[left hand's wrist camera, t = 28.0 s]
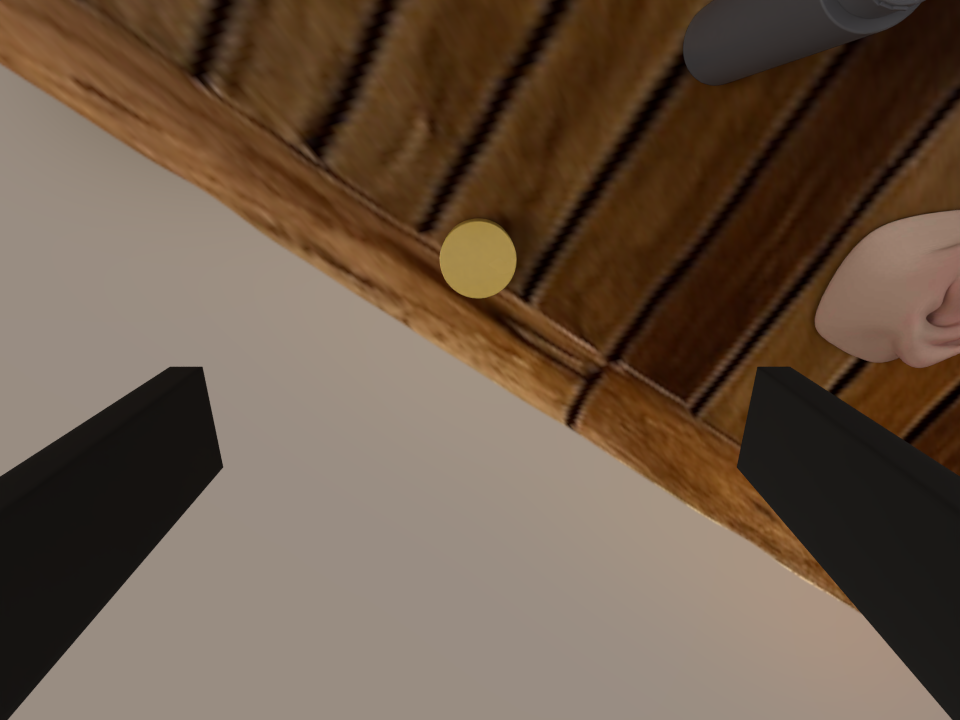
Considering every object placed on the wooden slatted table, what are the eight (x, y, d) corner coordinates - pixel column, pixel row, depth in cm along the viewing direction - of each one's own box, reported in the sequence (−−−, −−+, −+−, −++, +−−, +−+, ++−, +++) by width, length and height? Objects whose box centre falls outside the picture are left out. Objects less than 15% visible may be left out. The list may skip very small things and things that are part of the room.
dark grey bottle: (688, -2, 31) (870, -148, 17) (765, -1, 31) (1013, -146, 17) (677, 85, 33) (834, 21, 18) (750, 85, 33) (964, 22, 18)
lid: (494, 303, 38) (495, 310, 36) (430, 272, 37) (427, 278, 35) (527, 238, 36) (530, 243, 35) (460, 205, 36) (459, 207, 34)
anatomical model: (835, 379, 36) (887, 208, 32) (801, 359, 40) (845, 203, 35) (1022, 385, 36) (1098, 216, 32) (971, 365, 40) (1033, 211, 36)
